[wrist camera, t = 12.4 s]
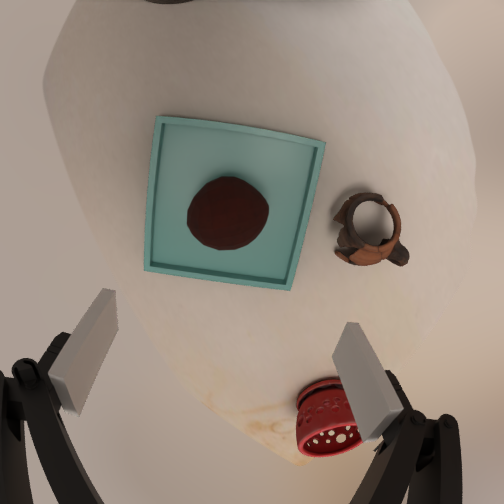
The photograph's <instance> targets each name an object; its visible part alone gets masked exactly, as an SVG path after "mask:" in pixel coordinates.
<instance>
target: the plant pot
mask: <svg viewBox="0 0 504 504" xmlns="http://www.w3.org/2000/svg"><path fill="white" fill-rule="evenodd" d="M297 409H298V411H299V412H298V415H297V422H296V438H297V445H298V449H299V451H300V452H301V453H302V454H304V455H307V456H311V457H328V456H334V455H338V454H341V453H344V452H347V451H349V450H352V449H353V448H355V447H357V446H359V445H360V444H361V443H363V441H362V438H361V435H360V433H359V432H358V430H357V429H358V427H357V424H356V421H355V418H354V415H353V413H352V410H351V407H350V404H349V402H348V399H347V396H346V393H345V391H344V388H343V385H342V382H341V380H325V381H321V382H318V383H316V384H313V385H312V386H310V387H308V388H307V389H306V390H304V391H303V392H302V393H301V395H300V396H299V398H298V400H297ZM346 426H350V429H349V430H346ZM331 430H333V431H334V432H335V434H334V435H332V436H330V435H329V434H328V432H329V431H331ZM321 432H323V433H324V435H323V436H321V435H320V433H321ZM351 433H353V436H352V437H351V438H350V434H351ZM340 434H345V435H346V440H345V441H344V442H342V443H338V442H337V441H336V438H337V436H338V435H340ZM313 439H316V440H318V444H315V443H314V442H313ZM326 440H330V443H326ZM307 443H308V444H309V445H310V446H308V444H307Z"/></svg>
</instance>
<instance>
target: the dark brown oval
mask: <svg viewBox="0 0 504 504" xmlns="http://www.w3.org/2000/svg"><path fill="white" fill-rule="evenodd" d="M268 216H269V205H268V203H267V200H266V199H265V198H264V197H263V195H262V194H261V193H260V192H259V191H258V190H257V189H256V188H255V187H253V186H252V185H250V184H249V183H248V182H246V181H245V180H242V179H240V178H237V177H234V176H221V177H219V178H217V179H215V180H212V181H210V182H208V183H206V184H205V185H204V186H203V187H202V188H201V189H200V190H199V192H198V193H197V194H196V195H195V196H194V197H193V199H192V201H191V203H190V206H189V208H188V210H187V226H188V228H189V230H190V232H191V234H192V235H193V236H194V237H195V238H196V239H197V240H198V241H199V242H200V243H202V244H203V245H204V246H207V247H210V248H213V249H216V250H219V251H221V250H236V249H239V248H241V247H244V246H247V245H248V244H250V243H251V242H252V241H253V240H255V239H256V238H257V237H258V235H259V234H260V233H261V232H262V230H263V228H264V226H265V225H266V222H267V219H268Z"/></svg>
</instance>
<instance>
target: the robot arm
mask: <svg viewBox="0 0 504 504" xmlns="http://www.w3.org/2000/svg"><path fill="white" fill-rule="evenodd" d="M147 1H150V2H154V3H162V4H173V3H182V2H187V1H191V0H147ZM117 331H118V320H117V307H116V292H115V290H110V289H104V288H103V289H102V290H101V292H100V293H99V295H98V296H97V297H96V299H95V300H94V302H93V303H92V305H91V306H90V307H89V309H88V310H87V312H86V313H85V315H84V316H83V318H82V319H81V321H80V322H79V324H78V325H77V327H76V328H75V330H74V331H73V333H72V334H69V333H65V332H62V333H60V334H59V335H58V336H56V337H55V338H54V340H53V341H52V342H51V344H50V346H49V347H48V348H47V351H46V352H45V353H44V355H43V356H42V358H41V359H40V361H39V362H38V364H37V362H36V361H34V360H33V359H29V358H23V359H20V360H18V361H17V362H15V364H14V365H13V367H12V374H13V376H14V378H9V377H5V376H4V374H3V373H2V371H0V504H33V499H32V494H31V489H30V482H29V475H28V468H27V459H26V448H25V435H24V434H25V433H24V421H27V423H28V427H29V430H30V434H31V437H32V440H33V443H34V446H35V449H36V451H37V454H38V457H39V460H40V462H41V465H42V467H43V470H44V472H45V475H46V477H47V480H48V482H49V484H50V486H51V488H52V491H53V493H54V495H55V497H56V499H57V501H58V503H59V504H104V502H103V501H102V499H101V498H100V496H99V494H98V493H97V491H96V489H95V487H94V486H93V484H92V482H91V480H90V479H89V477H88V475H87V473H86V471H85V469H84V468H83V465H82V463H81V461H80V459H79V457H78V455H77V453H76V451H75V449H74V447H73V444H72V442H71V440H70V438H69V435H68V433H67V431H66V428H65V426H64V424H63V421H62V418H61V416H60V414H59V410H60V407H61V405H62V407H63V409H64V412H66V413H68V414H71V415H74V416H77V417H79V416H80V414H81V411H82V409H83V406H84V404H85V402H86V399H87V397H88V395H89V392H90V390H91V388H92V385H93V383H94V381H95V379H96V376H97V374H98V371H99V370H100V367H101V365H102V363H103V361H104V359H105V357H106V354H107V352H108V350H109V348H110V346H111V344H112V342H113V340H114V337H115V335H116V334H117ZM332 358H333V361H334V364H335V366H336V369H337V372H338V374H339V377H340V380H341V382H342V385H343V388H344V391H345V393H346V396H347V399H348V402H349V404H350V407H351V410H352V413H353V415H354V418H355V421H356V424H357V427H358V430H359V433H360V435H361V438H362V441H363V443H366V442H372V441H376V440H377V439H378V438H379V437H380V436H381V435H382V436H383V439H384V440H383V441H382V442H381V443H380V444H379V445H378V446H377V447H376V448H375V450H374V451H376V450H377V449H378V450H377V452H376V455H375V457H374V459H373V461H372V463H371V465H370V467H369V469H368V471H367V473H366V475H365V477H364V479H363V480H362V483H361V484H360V486H359V488H358V489H357V491H356V493H355V495H354V497H353V498H352V500H351V502H350V504H401V503H402V501H403V498H404V496H405V493H406V491H407V488H408V486H409V492H408V499H407V504H462V461H461V447H460V437H459V429H458V423H457V421H456V419H455V418H454V417H453V416H451V415H449V414H443V415H441V416H440V418H439V419H438V420H432V419H426V417H425V415H424V414H423V413H421V412H420V411H417V410H413V408H412V406H411V405H410V402H409V400H408V398H407V397H406V395H405V393H404V391H402V387H401V385H399V382H398V380H397V378H396V376H395V375H394V374H393V373H392V372H391V371H390V370H384V369H383V367H382V365H381V363H380V361H379V359H378V358H377V356H376V354H375V352H374V350H373V348H372V346H371V345H370V343H369V341H368V339H367V337H366V336H365V334H364V332H363V330H362V328H361V327H360V325H359V323H353V322H347V324H346V326H345V328H344V331H343V333H342V335H341V337H340V340H339V342H338V344H337V346H336V348H335V351H334V353H333V355H332Z"/></svg>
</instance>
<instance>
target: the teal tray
mask: <svg viewBox="0 0 504 504" xmlns="http://www.w3.org/2000/svg"><path fill="white" fill-rule="evenodd" d="M325 145H326V142H322V141H318V140H314V139H309V138H305V137H300V136H296V135H291V134H286V133H282V132H277V131H271V130H266V129H261V128H255V127H249V126H243V125H236V124H230V123H223V122H215V121H207V120H198V119H189V118H178V117H166V116H156V121H155V128H154V135H153V142H152V150H151V159H150V168H149V179H148V190H147V203H146V219H145V242H144V271H149V272H155V273H161V274H168V275H174V276H181V277H188V278H195V279H202V280H209V281H216V282H223V283H231V284H239V285H246V286H254V287H262V288H270V289H279V290H287V291H290V290H291V287H292V283H293V279H294V275H295V272H296V268H297V264H298V260H299V256H300V253H301V249H302V245H303V241H304V237H305V233H306V229H307V225H308V220H309V216H310V212H311V208H312V204H313V199H314V195H315V191H316V186H317V182H318V177H319V173H320V168H321V164H322V159H323V154H324V150H325ZM221 176H234V177H237V178H240V179H242V180H245V181H246V182H248V183H249V184H250V185H252V186H253V187H255V188H256V189H257V190H258V191H259V192H260V193H261V194H262V195H263V197H264V198H265V199H266V200H267V203H268V205H269V216H268V219H267V222H266V225H265V226H264V228H263V230H262V232H261V233H260V234H259V235H258V237H257V238H256V239H255V240H253V241H252V242H251V243H250V244H248V245H247V246H244V247H241V248H239V249H236V250H221V251H219V250H216V249H213V248H210V247H207V246H204V245H203V244H202V243H200V242H199V241H198V240H197V239H196V238H195V237H194V236H193V235H192V234H191V232H190V230H189V228H188V226H187V210H188V208H189V206H190V203H191V201H192V199H193V197H194V196H195V195H196V194H197V193H198V192H199V190H200V189H201V188H202V187H203V186H204V185H205V184H206V183H208V182H210V181H212V180H215V179H217V178H219V177H221Z"/></svg>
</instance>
